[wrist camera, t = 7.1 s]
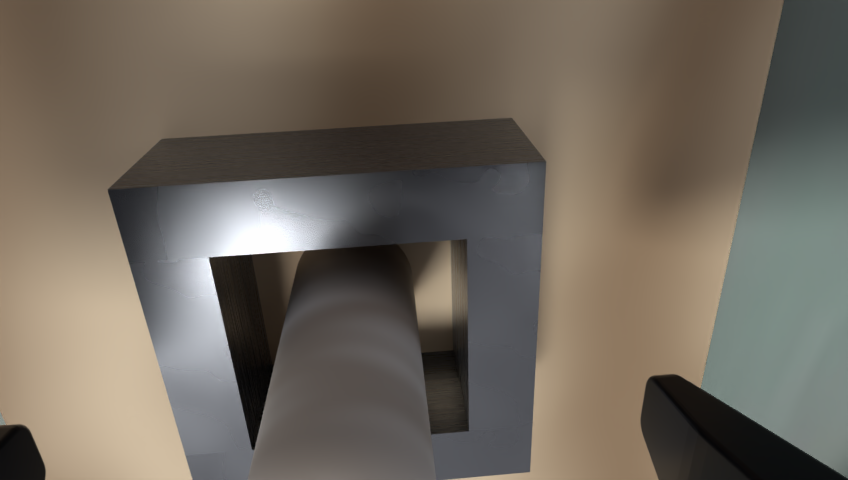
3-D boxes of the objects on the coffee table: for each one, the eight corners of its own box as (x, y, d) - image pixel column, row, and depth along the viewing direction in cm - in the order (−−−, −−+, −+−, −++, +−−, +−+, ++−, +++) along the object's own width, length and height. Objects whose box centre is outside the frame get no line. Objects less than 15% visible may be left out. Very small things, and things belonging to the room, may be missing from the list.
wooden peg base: (795, -191, 10) (1327, -358, 4) (660, 490, 17) (801, 757, 12) (-214, -164, 9) (-1122, -324, 4) (84, 541, 16) (-68, 854, 11)
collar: (511, 117, 11) (546, 161, 9) (505, 388, 14) (530, 471, 12) (161, 138, 11) (107, 189, 9) (226, 411, 14) (198, 501, 12)
